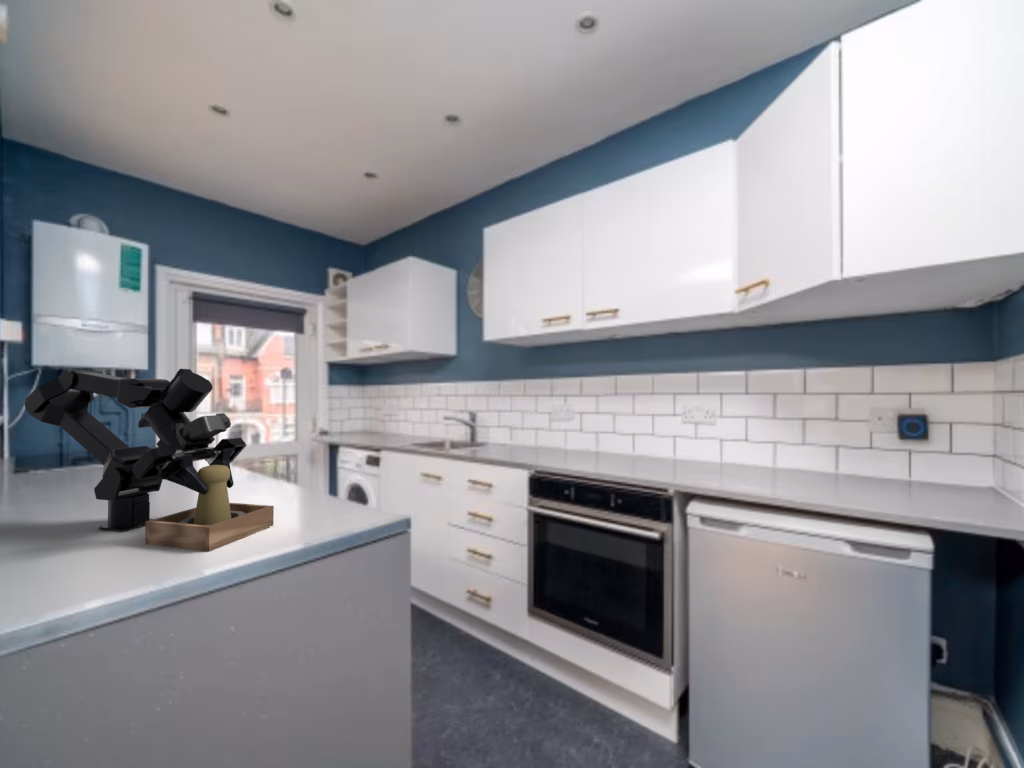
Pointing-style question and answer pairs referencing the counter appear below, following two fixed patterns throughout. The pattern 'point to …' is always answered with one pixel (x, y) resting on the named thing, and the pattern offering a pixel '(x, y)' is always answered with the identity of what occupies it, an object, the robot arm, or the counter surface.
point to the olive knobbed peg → (213, 496)
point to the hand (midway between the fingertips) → (219, 489)
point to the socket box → (208, 528)
